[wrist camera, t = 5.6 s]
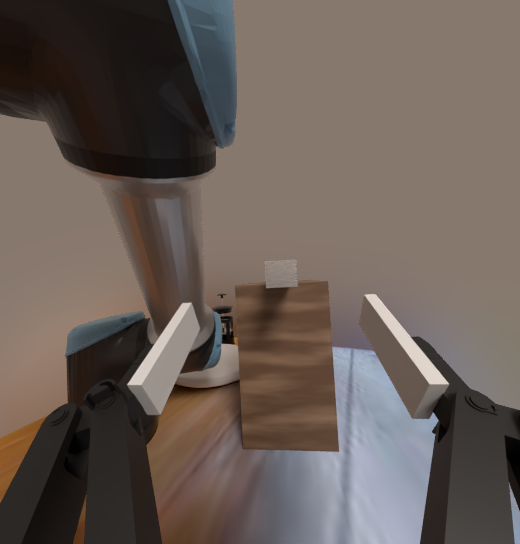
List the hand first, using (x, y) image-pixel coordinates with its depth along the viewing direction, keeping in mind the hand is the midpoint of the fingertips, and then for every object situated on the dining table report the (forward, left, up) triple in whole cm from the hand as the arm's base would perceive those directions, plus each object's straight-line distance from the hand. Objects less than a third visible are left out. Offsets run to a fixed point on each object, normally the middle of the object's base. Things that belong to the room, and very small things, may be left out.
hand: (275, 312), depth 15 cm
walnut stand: (-20, +18, -26) cm, 37 cm away
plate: (-51, +12, -27) cm, 59 cm away
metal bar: (-17, +15, +2) cm, 22 cm away
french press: (-71, +26, -27) cm, 80 cm away
